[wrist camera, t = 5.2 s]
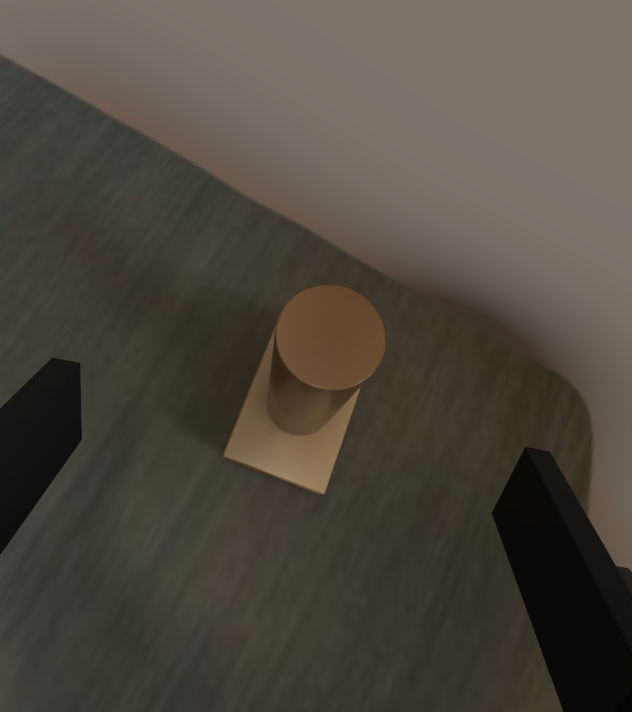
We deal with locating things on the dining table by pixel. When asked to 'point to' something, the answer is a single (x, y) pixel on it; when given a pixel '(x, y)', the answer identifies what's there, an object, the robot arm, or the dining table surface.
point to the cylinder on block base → (308, 387)
